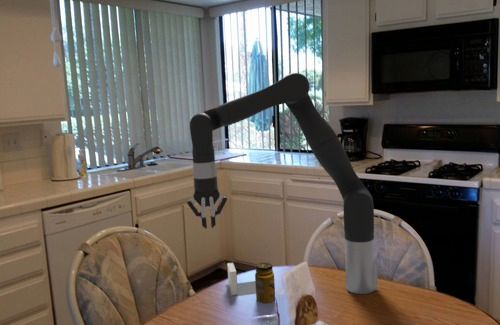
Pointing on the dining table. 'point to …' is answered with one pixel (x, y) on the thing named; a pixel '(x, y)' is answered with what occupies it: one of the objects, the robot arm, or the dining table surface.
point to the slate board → (243, 288)
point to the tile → (232, 279)
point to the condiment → (264, 283)
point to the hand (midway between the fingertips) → (208, 227)
